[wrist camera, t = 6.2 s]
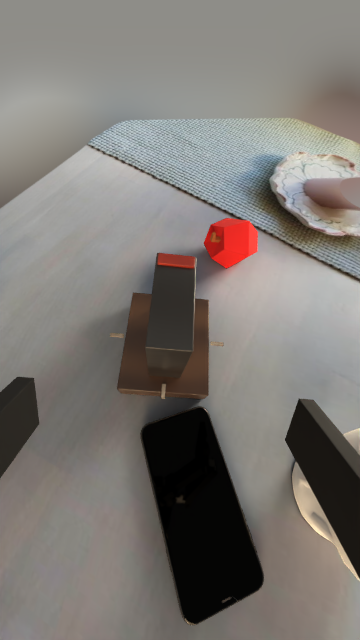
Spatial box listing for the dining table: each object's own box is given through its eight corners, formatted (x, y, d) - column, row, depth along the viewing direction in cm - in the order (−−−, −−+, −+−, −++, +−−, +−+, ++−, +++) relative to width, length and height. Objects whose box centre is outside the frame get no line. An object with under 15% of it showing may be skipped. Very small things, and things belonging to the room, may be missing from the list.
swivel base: (217, 405, 26) (224, 403, 23) (105, 398, 25) (98, 394, 22) (216, 308, 31) (222, 296, 28) (123, 299, 30) (119, 285, 28)
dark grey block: (180, 378, 24) (193, 350, 16) (148, 375, 24) (145, 346, 15) (184, 308, 27) (196, 254, 19) (156, 305, 27) (156, 250, 19)
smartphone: (138, 426, 24) (183, 625, 19) (137, 426, 24) (184, 634, 18) (204, 404, 26) (265, 581, 20) (206, 403, 25) (269, 586, 19)
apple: (261, 206, 32) (217, 195, 28) (277, 250, 31) (234, 246, 27) (228, 236, 38) (188, 231, 34) (241, 274, 37) (200, 274, 32)
